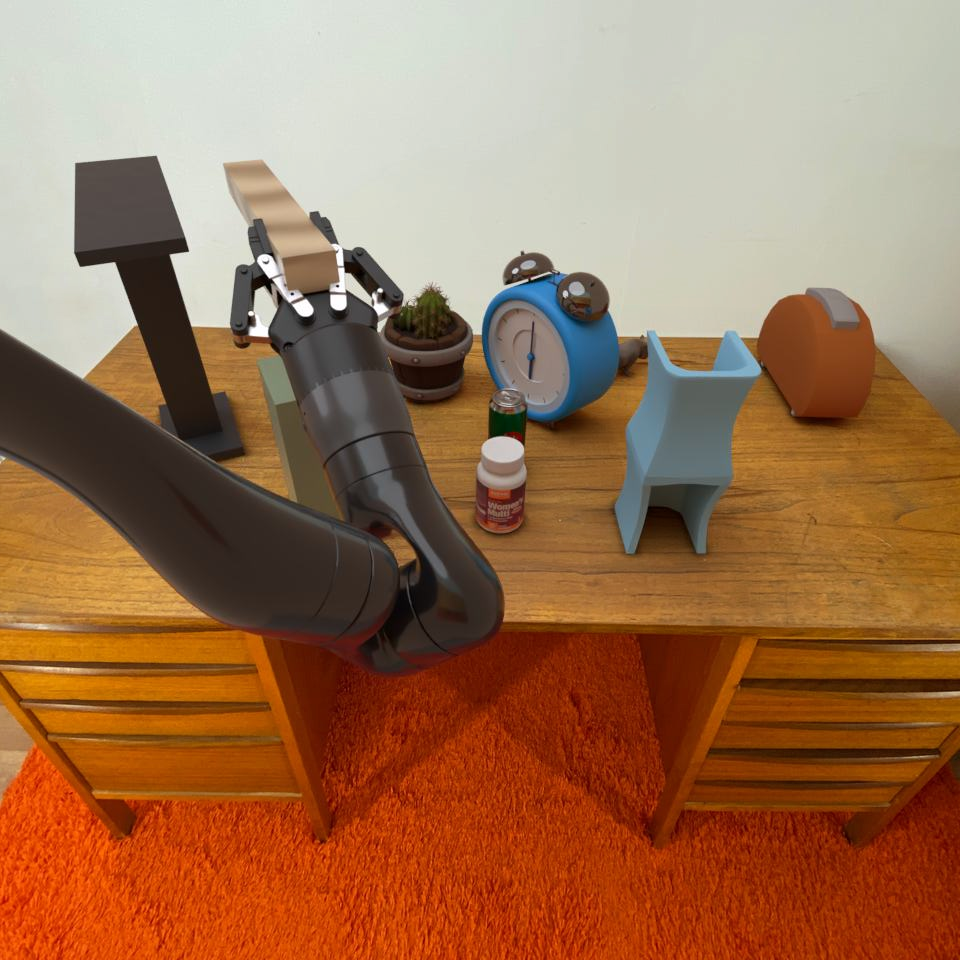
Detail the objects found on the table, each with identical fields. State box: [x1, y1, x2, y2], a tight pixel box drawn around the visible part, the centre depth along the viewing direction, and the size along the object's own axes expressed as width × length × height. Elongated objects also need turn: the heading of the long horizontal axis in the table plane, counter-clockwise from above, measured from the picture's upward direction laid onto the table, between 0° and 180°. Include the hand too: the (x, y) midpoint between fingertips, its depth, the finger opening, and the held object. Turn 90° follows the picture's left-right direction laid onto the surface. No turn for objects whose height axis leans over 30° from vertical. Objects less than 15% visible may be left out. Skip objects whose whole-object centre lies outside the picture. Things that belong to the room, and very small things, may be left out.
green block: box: [256, 354, 340, 520], centre depth 76 cm, size 10×10×21 cm
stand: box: [73, 155, 246, 463], centre depth 85 cm, size 34×10×34 cm, turn 26°
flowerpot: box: [379, 281, 474, 404], centre depth 100 cm, size 14×15×20 cm
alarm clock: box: [481, 250, 620, 431], centre depth 95 cm, size 20×10×23 cm, turn 41°
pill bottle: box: [475, 437, 528, 534], centre depth 79 cm, size 6×6×11 cm
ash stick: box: [222, 158, 340, 294], centre depth 57 cm, size 28×4×3 cm, turn 25°
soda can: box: [487, 389, 528, 450], centre depth 86 cm, size 5×5×12 cm
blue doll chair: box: [614, 329, 762, 555], centre depth 74 cm, size 10×10×25 cm
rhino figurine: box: [618, 334, 648, 377], centre depth 109 cm, size 4×14×6 cm, turn 123°
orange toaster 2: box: [756, 287, 877, 419], centre depth 102 cm, size 23×9×17 cm, turn 179°
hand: (286, 223), depth 52 cm, fingers closed on ash stick, 4 cm apart
